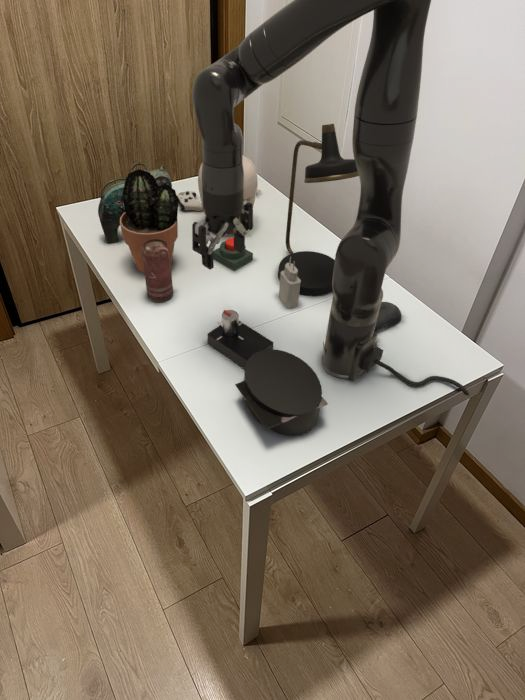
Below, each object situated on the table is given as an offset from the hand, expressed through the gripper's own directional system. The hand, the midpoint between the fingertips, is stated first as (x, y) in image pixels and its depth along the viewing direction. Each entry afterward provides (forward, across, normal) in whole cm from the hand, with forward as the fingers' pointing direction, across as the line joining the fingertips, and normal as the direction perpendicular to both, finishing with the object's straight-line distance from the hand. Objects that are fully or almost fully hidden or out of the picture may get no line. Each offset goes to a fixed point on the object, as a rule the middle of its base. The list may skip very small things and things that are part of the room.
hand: (224, 258), depth 108 cm
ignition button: (+15, +20, +18) cm, 31 cm away
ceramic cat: (+18, +10, +43) cm, 48 cm away
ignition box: (+18, +20, +18) cm, 32 cm away
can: (+18, -3, +19) cm, 27 cm away
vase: (+18, +31, +30) cm, 47 cm away
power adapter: (+19, +17, -4) cm, 26 cm away
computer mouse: (+19, +26, -24) cm, 40 cm away
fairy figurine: (+18, +47, +41) cm, 65 cm away
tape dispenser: (+19, -8, -23) cm, 31 cm away
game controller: (+18, +31, +46) cm, 59 cm away
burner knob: (+15, -3, -4) cm, 16 cm away
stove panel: (+18, -2, -7) cm, 20 cm away
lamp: (+19, +29, 0) cm, 35 cm away
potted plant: (+18, +4, +30) cm, 35 cm away
